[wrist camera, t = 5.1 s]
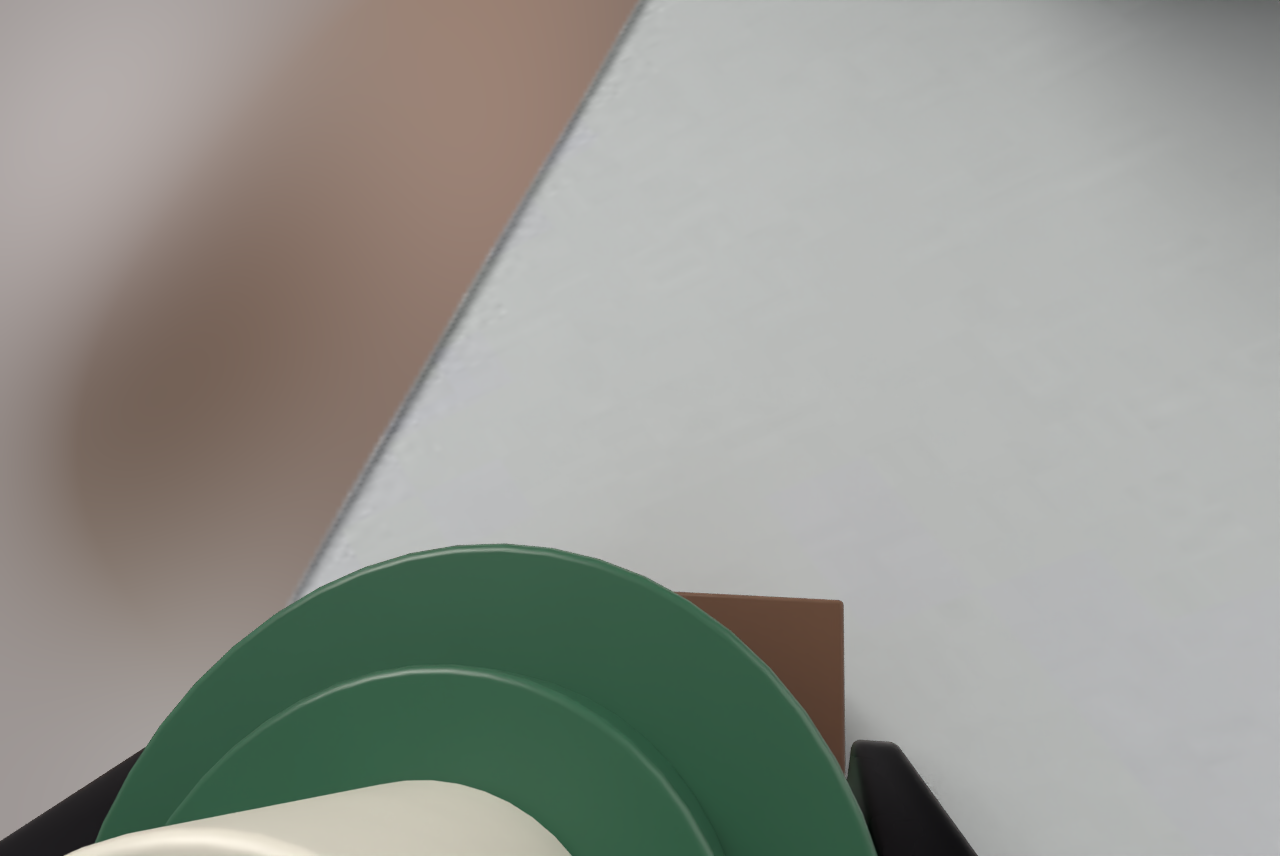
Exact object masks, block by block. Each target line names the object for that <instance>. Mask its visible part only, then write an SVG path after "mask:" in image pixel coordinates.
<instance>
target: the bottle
mask: <svg viewBox="0 0 1280 856" xmlns="http://www.w3.org/2000/svg"><path fill="white" fill-rule="evenodd" d="M64 856H877V853H876V850H875V847H874V844H873V841H872V838H871V835H870V832H869V830H868V827H867V824H866V821H865V818H864V815H863V813H862V811H861V809H860V807H859V805H858V802H857V800H856V798H855V796H854V794H853V792H852V790H851V788H850V786H849V784H848V782H847V780H846V777H845V775H844V773H843V771H842V769H841V767H840V765H839V763H838V761H837V759H836V757H835V756H834V754H833V753H832V751H831V750H830V748H829V747H828V745H827V743H826V742H825V740H824V739H823V737H822V736H821V734H820V732H819V731H818V729H817V728H816V726H815V725H814V723H813V721H812V720H811V718H810V717H809V715H808V714H807V712H806V711H805V709H804V708H803V707H802V706H801V704H800V703H799V702H798V701H797V700H796V698H795V697H794V696H793V695H792V694H791V692H790V691H789V690H788V689H787V688H786V686H785V685H784V684H783V683H782V681H781V680H780V679H779V678H778V677H777V675H776V674H775V673H774V672H773V671H772V669H771V668H770V667H769V666H768V665H767V664H766V663H765V662H764V661H763V660H761V659H760V658H759V657H758V656H757V655H756V654H755V653H754V652H753V651H752V650H751V649H750V648H749V647H748V646H747V645H746V644H744V643H743V642H742V641H741V640H740V639H739V638H738V637H737V636H736V635H735V634H734V633H733V632H732V631H731V630H729V629H728V628H726V627H725V626H724V625H722V624H721V623H720V622H718V621H717V620H715V619H714V618H713V617H711V616H710V615H708V614H707V613H706V612H704V611H703V610H702V609H700V608H699V607H697V606H696V605H695V604H693V603H692V602H691V601H689V600H687V599H685V598H684V597H682V596H680V595H678V594H676V593H674V592H673V591H671V590H669V589H667V588H665V587H663V586H662V585H660V584H658V583H656V582H654V581H652V580H650V579H649V578H647V577H645V576H642V575H640V574H637V573H634V572H632V571H629V570H627V569H624V568H621V567H619V566H616V565H613V564H611V563H608V562H606V561H603V560H600V559H597V558H592V557H588V556H584V555H580V554H575V553H571V552H567V551H562V550H558V549H554V548H546V547H535V546H525V545H515V544H480V545H457V546H451V547H445V548H439V549H433V550H427V551H421V552H415V553H410V554H407V555H403V556H400V557H397V558H393V559H390V560H387V561H384V562H380V563H377V564H374V565H370V566H367V567H364V568H362V569H360V570H357V571H355V572H353V573H351V574H348V575H346V576H344V577H342V578H339V579H337V580H335V581H333V582H330V583H328V584H326V585H324V586H322V587H319V588H318V589H316V590H314V591H313V592H311V593H309V594H308V595H306V596H304V597H303V598H301V599H299V600H298V601H296V602H294V603H293V604H291V605H289V606H288V607H286V608H284V609H283V610H281V611H279V612H278V613H276V614H275V615H273V616H272V617H271V618H270V619H268V620H267V621H266V622H264V623H263V624H262V625H260V626H259V627H258V628H257V629H255V630H254V631H253V632H251V633H250V634H249V635H248V636H246V637H245V638H244V639H242V640H241V641H240V642H238V643H237V644H236V645H235V646H233V647H232V648H231V649H230V650H229V651H228V652H227V653H226V654H225V655H224V656H223V657H222V658H221V659H220V660H219V661H218V662H217V663H216V664H215V665H214V666H213V667H212V668H211V669H210V670H209V671H207V672H206V674H204V675H203V676H202V677H201V678H200V679H199V680H198V681H197V682H196V683H195V684H194V685H193V687H192V688H191V689H190V690H189V691H188V693H187V694H186V695H185V696H184V698H183V699H182V700H181V701H180V702H179V703H178V705H177V706H176V707H175V708H174V710H173V711H172V712H171V713H170V714H169V716H168V717H167V718H166V719H165V721H164V722H163V723H162V724H161V725H160V727H159V728H158V730H157V731H156V733H155V734H154V736H153V737H152V739H151V740H150V742H149V743H148V745H147V746H146V748H145V749H144V751H143V752H142V754H141V755H140V757H139V758H138V760H137V761H136V763H135V764H134V766H133V767H132V769H131V770H130V772H129V774H128V776H127V778H126V779H125V781H124V783H123V785H122V787H121V789H120V791H119V793H118V795H117V797H116V799H115V800H114V802H113V804H112V806H111V808H110V810H109V812H108V814H107V816H106V818H105V820H104V821H103V823H102V826H101V828H100V831H99V833H98V836H97V838H96V841H95V843H94V844H92V845H89V846H85V847H82V848H80V849H78V850H75V851H73V852H71V853H69V854H67V855H64Z"/></svg>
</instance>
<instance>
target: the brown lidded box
mask: <svg viewBox="0 0 1280 856" xmlns="http://www.w3.org/2000/svg"><path fill="white" fill-rule="evenodd" d="M674 593H676V594H678V595H680V596H682V597H684V598H685V599H687V600H689V601H691V602H692V603H693V604H695V605H696V606H697V607H699V608H700V609H702V610H703V611H704V612H706V613H707V614H708V615H710V616H711V617H713V618H714V619H715V620H717V621H718V622H720V623H721V624H722V625H724V626H725V627H726V628H728V629H729V630H731V631H732V632H733V633H734V634H735V635H736V636H737V637H738V638H739V639H740V640H741V641H742V642H743V643H744V644H746V645H747V646H748V647H749V648H750V649H751V650H752V651H753V652H754V653H755V654H756V655H757V656H758V657H759V658H760V659H761V660H763V661H764V662H765V663H766V664H767V665H768V666H769V667H770V668H771V669H772V671H773V672H774V673H775V674H776V675H777V677H778V678H779V679H780V680H781V681H782V683H783V684H784V685H785V686H786V688H787V689H788V690H789V691H790V692H791V694H792V695H793V696H794V697H795V698H796V700H797V701H798V702H799V703H800V704H801V706H802V707H803V708H804V709H805V711H806V712H807V714H808V715H809V717H810V718H811V720H812V721H813V723H814V725H815V726H816V728H817V729H818V731H819V732H820V734H821V736H822V737H823V739H824V740H825V742H826V743H827V745H828V747H829V748H830V750H831V751H832V753H833V754H834V756H835V757H836V759H837V761H838V763H839V765H840V767H841V769H842V771H843V773H844V775H845V697H844V605H843V602H842V601H840V600H826V599H807V598H787V597H767V596H748V595H728V594H708V593H689V592H674Z"/></svg>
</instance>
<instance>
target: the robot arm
mask: <svg viewBox="0 0 1280 856" xmlns="http://www.w3.org/2000/svg"><path fill="white" fill-rule="evenodd" d="M145 748H146V747H145ZM145 748H143V749H142V750H140V751H139V752H137V753H136V754H134V755H133V756H131V757H129V758H128V759H126V760H125V761H123V762H122V763H120V764H119V765H117V766H116V767H114V768H112V769H111V770H109V771H108V772H107V773H105V774H103V775H102V776H100V777H99V778H97V779H96V780H94V781H93V782H91V783H89V784H88V785H86V786H85V787H83V788H82V789H80V790H78V791H77V792H75V793H74V794H72V795H71V796H69V797H68V798H66V799H65V800H63V801H62V802H60V803H58V804H57V805H55V806H54V807H52V808H51V809H49V810H48V811H46V812H45V813H43V814H41V815H40V816H38V817H37V818H35V819H34V820H32V821H31V822H29V823H28V824H26V825H25V826H23V827H21V828H20V829H18V830H17V831H15V832H14V833H12V834H11V835H9V836H7V837H6V838H4V839H3V840H1V841H0V856H64V855H67V854H69V853H71V852H73V851H75V850H78V849H80V848H82V847H85V846H89V845H92V844H94V843H95V841H96V838H97V836H98V833H99V831H100V828H101V826H102V823H103V821H104V820H105V818H106V816H107V814H108V812H109V810H110V808H111V806H112V804H113V802H114V800H115V799H116V797H117V795H118V793H119V791H120V789H121V787H122V785H123V783H124V781H125V779H126V778H127V776H128V774H129V772H130V770H131V769H132V767H133V766H134V764H135V763H136V761H137V760H138V758H139V757H140V755H141V754H142V752H143V751H144V749H145ZM847 782H848V784H849V786H850V788H851V790H852V792H853V794H854V796H855V798H856V800H857V802H858V805H859V807H860V809H861V811H862V813H863V815H864V818H865V821H866V824H867V827H868V830H869V832H870V835H871V838H872V841H873V844H874V847H875V850H876V853H877V856H978V855H977V854H976V853H975V851H974V850H973V848H972V847H971V846H970V844H969V843H968V842H967V840H966V839H965V837H964V836H963V835H962V833H961V832H960V830H959V829H958V828H957V826H956V825H955V824H954V822H953V821H952V819H951V818H950V817H949V815H948V814H947V813H946V811H945V810H944V808H943V807H942V806H941V804H940V803H939V801H938V800H937V799H936V797H935V796H934V795H933V793H932V792H931V790H930V789H929V788H928V786H927V785H926V784H925V782H924V781H923V779H922V778H921V777H920V775H919V774H918V772H917V771H916V770H915V768H914V767H913V766H912V764H911V763H910V761H909V760H908V759H907V757H906V756H905V755H904V753H903V752H902V750H901V749H900V748H899V747H898V746H897V745H896V744H894V743H892V742H884V741H870V740H857V741H855V742H854V743H853V745H852V747H851V753H850V761H849V769H848V777H847Z"/></svg>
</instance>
